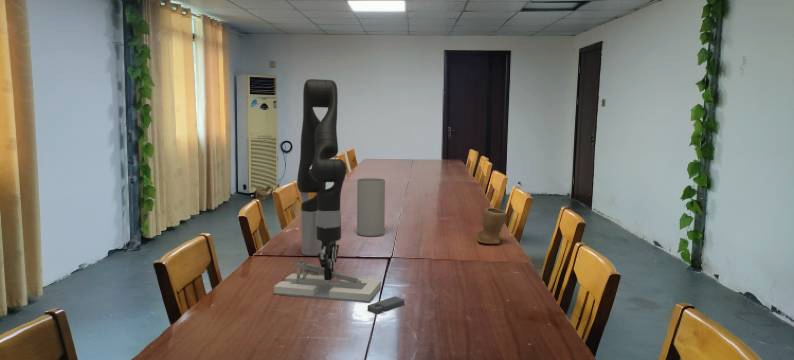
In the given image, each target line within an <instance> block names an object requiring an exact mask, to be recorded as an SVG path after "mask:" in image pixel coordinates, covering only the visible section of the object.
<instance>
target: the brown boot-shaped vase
mask: <svg viewBox="0 0 794 360" xmlns="http://www.w3.org/2000/svg"><path fill="white" fill-rule="evenodd" d="M506 217H507V214H506V212H505V211H504V210H501V209H500V208H497V207H487V208H485V209H484V211H483V216H482V225H483V230H481V231H477V232H476V235H475V236H476V238H477V240H478V242H479V243H481V244H487V245H498V244H501V237H500V232H501V230H502V228H503V226H504V224H505V222H506V219H507V218H506Z"/></svg>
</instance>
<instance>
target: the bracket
mask: <svg viewBox="0 0 794 360" xmlns="http://www.w3.org/2000/svg"><path fill="white" fill-rule="evenodd" d="M402 306H405V299H404V298H400V297H399V296H392V297H389V298H386V299H382V300H379V301H376V302H373V303H371V304H370V303H369V304H368V305H367V312H369V313H372V314H375V315H380V314H383V313H386V312H389V311H391V310H394V309H397V308H400V307H402Z"/></svg>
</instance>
